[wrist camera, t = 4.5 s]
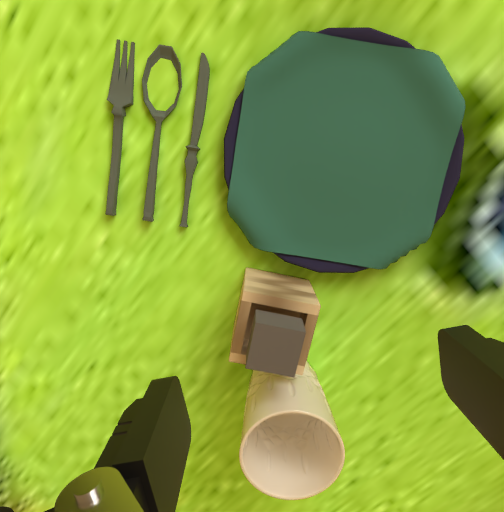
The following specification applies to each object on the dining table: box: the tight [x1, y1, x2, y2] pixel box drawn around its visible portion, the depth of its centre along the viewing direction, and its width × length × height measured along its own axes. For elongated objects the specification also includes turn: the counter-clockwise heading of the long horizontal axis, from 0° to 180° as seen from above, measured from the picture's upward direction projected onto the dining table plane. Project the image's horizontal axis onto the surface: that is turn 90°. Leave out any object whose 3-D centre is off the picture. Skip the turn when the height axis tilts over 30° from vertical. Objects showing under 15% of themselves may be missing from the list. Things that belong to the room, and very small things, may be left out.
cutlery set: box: [106, 28, 465, 273], centre depth 33 cm, size 20×30×2 cm, turn 81°
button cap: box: [246, 309, 306, 378], centre depth 28 cm, size 4×4×2 cm
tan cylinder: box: [239, 361, 345, 500], centre depth 33 cm, size 8×8×10 cm
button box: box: [229, 267, 321, 375], centre depth 33 cm, size 6×6×7 cm
